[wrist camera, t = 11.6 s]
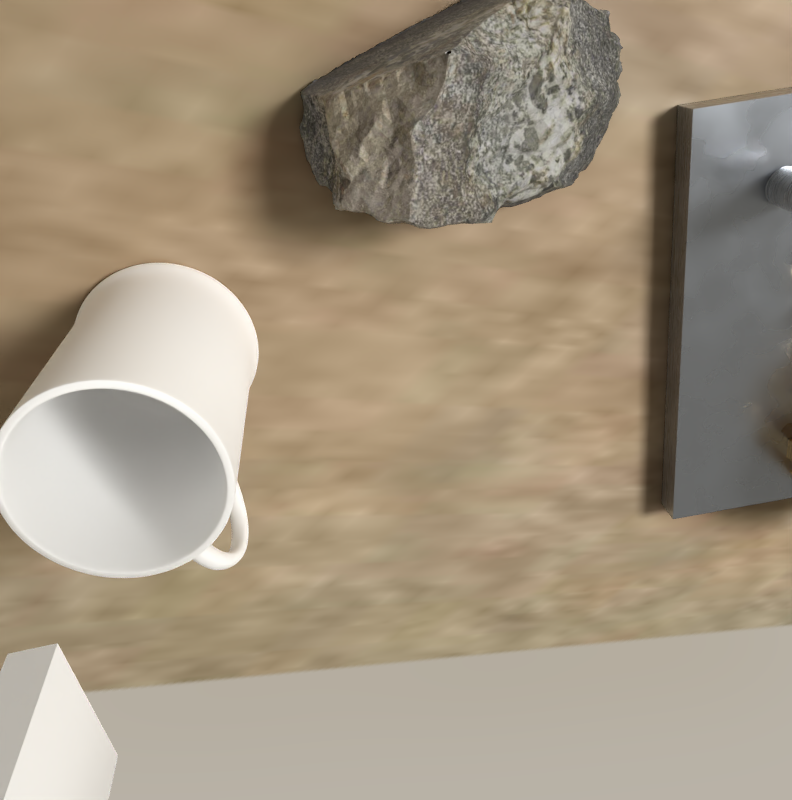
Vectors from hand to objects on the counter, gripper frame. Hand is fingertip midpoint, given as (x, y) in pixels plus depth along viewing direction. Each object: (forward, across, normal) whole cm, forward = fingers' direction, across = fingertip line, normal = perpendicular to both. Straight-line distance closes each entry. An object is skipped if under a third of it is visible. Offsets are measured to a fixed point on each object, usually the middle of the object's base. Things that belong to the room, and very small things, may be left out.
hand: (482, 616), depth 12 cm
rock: (+26, +5, +3) cm, 27 cm away
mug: (+26, -10, -6) cm, 28 cm away
